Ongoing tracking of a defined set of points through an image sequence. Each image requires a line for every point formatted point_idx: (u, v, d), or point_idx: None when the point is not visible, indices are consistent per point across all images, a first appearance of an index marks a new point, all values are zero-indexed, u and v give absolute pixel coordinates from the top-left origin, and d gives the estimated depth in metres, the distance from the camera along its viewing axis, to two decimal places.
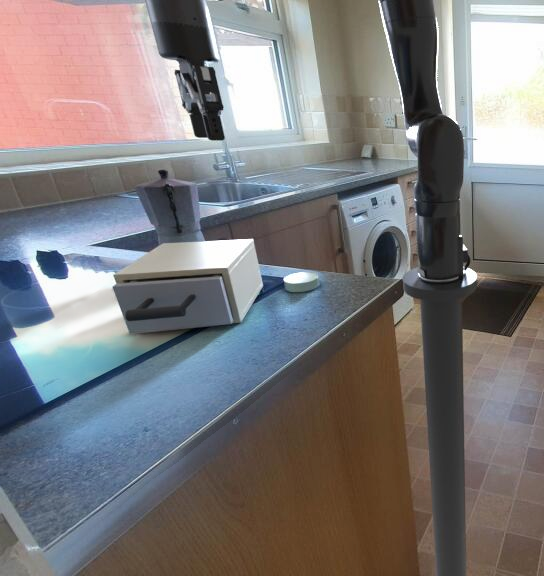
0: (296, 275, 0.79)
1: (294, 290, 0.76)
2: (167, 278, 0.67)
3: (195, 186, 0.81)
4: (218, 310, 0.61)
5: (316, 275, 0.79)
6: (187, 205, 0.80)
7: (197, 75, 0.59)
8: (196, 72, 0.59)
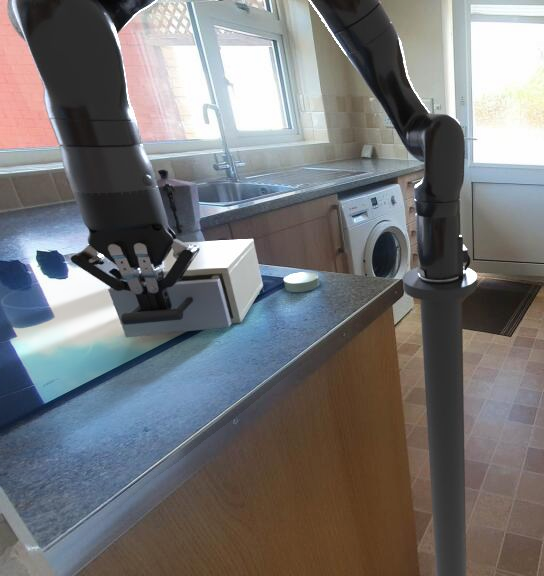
0: (296, 275, 0.79)
1: (294, 290, 0.76)
2: None
3: (195, 186, 0.81)
4: (216, 313, 0.60)
5: (316, 275, 0.79)
6: (187, 205, 0.80)
7: (189, 260, 0.53)
8: (190, 258, 0.52)
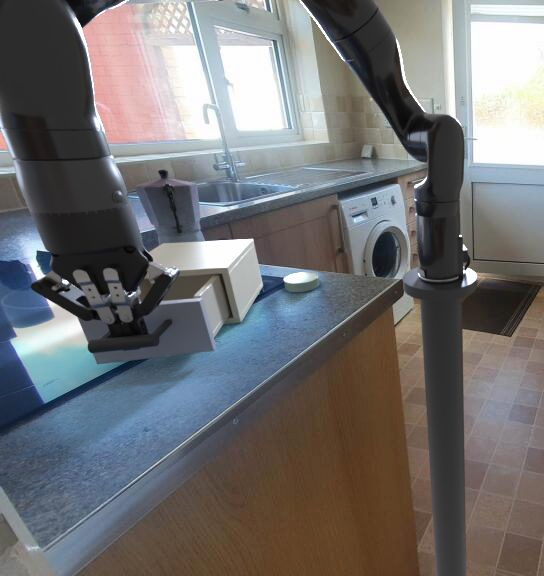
0: (296, 275, 0.79)
1: (294, 290, 0.76)
2: (143, 297, 0.60)
3: (195, 186, 0.81)
4: (198, 336, 0.54)
5: (316, 275, 0.79)
6: (187, 205, 0.80)
7: (167, 286, 0.47)
8: (168, 283, 0.47)
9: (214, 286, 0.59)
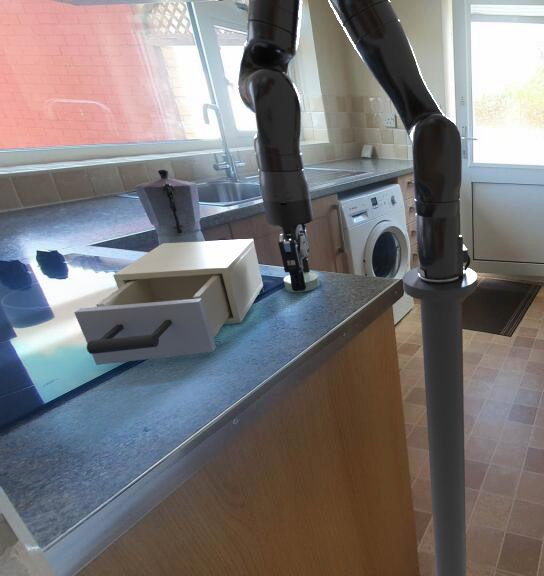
0: None
1: None
2: (143, 298, 0.60)
3: (195, 186, 0.81)
4: (198, 336, 0.54)
5: (316, 275, 0.79)
6: (187, 205, 0.80)
7: (305, 229, 0.81)
8: (305, 227, 0.81)
9: (214, 287, 0.59)
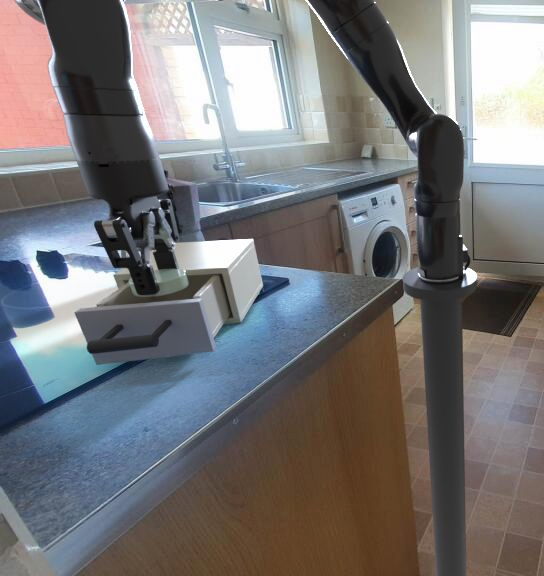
0: None
1: (141, 295, 0.53)
2: (143, 298, 0.60)
3: (195, 186, 0.81)
4: (198, 336, 0.54)
5: (182, 273, 0.56)
6: (187, 205, 0.80)
7: (171, 209, 0.58)
8: (171, 206, 0.58)
9: (214, 287, 0.59)
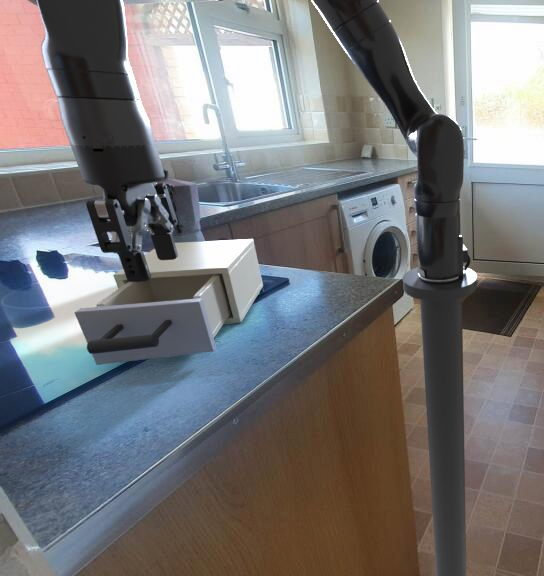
0: None
1: None
2: (143, 298, 0.60)
3: (195, 186, 0.81)
4: (198, 336, 0.54)
5: None
6: (187, 205, 0.80)
7: (167, 192, 0.57)
8: (166, 189, 0.57)
9: (214, 287, 0.59)
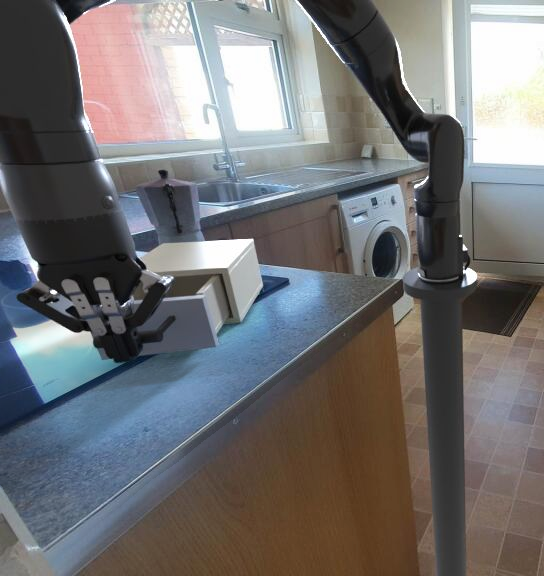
0: None
1: None
2: None
3: (195, 186, 0.81)
4: (201, 332, 0.55)
5: None
6: (187, 205, 0.80)
7: (161, 295, 0.45)
8: (163, 292, 0.44)
9: (216, 284, 0.60)
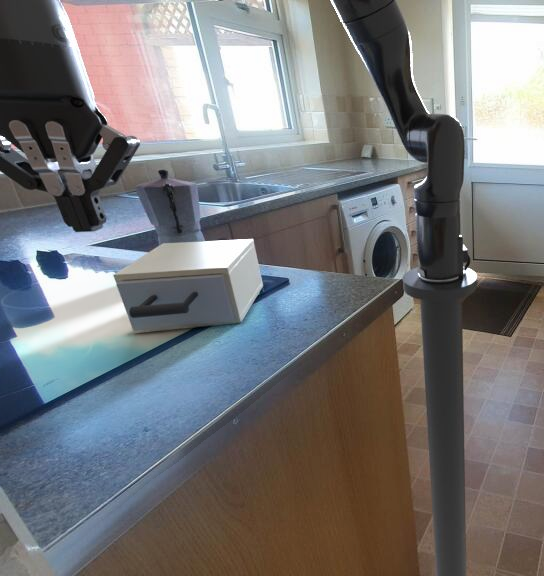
0: None
1: None
2: None
3: (195, 186, 0.81)
4: (220, 307, 0.62)
5: None
6: (187, 205, 0.80)
7: (123, 153, 0.41)
8: (125, 150, 0.40)
9: None
